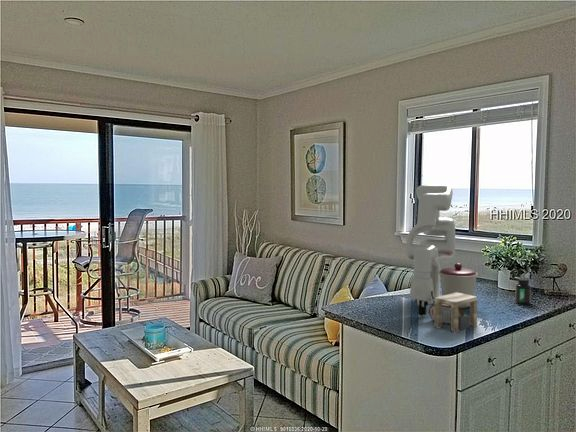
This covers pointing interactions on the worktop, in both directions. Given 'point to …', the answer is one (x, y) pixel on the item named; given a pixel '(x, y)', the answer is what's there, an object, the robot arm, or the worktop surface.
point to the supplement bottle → (523, 292)
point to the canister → (458, 281)
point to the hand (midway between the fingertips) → (422, 314)
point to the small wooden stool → (456, 310)
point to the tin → (445, 313)
